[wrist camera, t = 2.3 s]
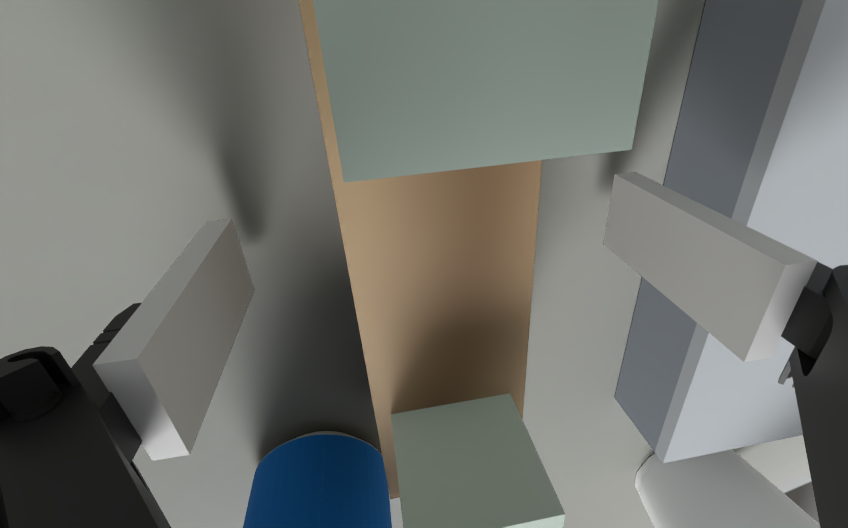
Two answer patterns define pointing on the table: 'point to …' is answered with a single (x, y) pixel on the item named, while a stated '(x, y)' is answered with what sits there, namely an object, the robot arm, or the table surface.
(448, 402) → the tan wooden bar
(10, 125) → the table surface
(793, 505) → the foam cup
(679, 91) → the table surface
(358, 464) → the beverage can
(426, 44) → the block
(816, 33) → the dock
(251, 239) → the table surface
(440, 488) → the block
